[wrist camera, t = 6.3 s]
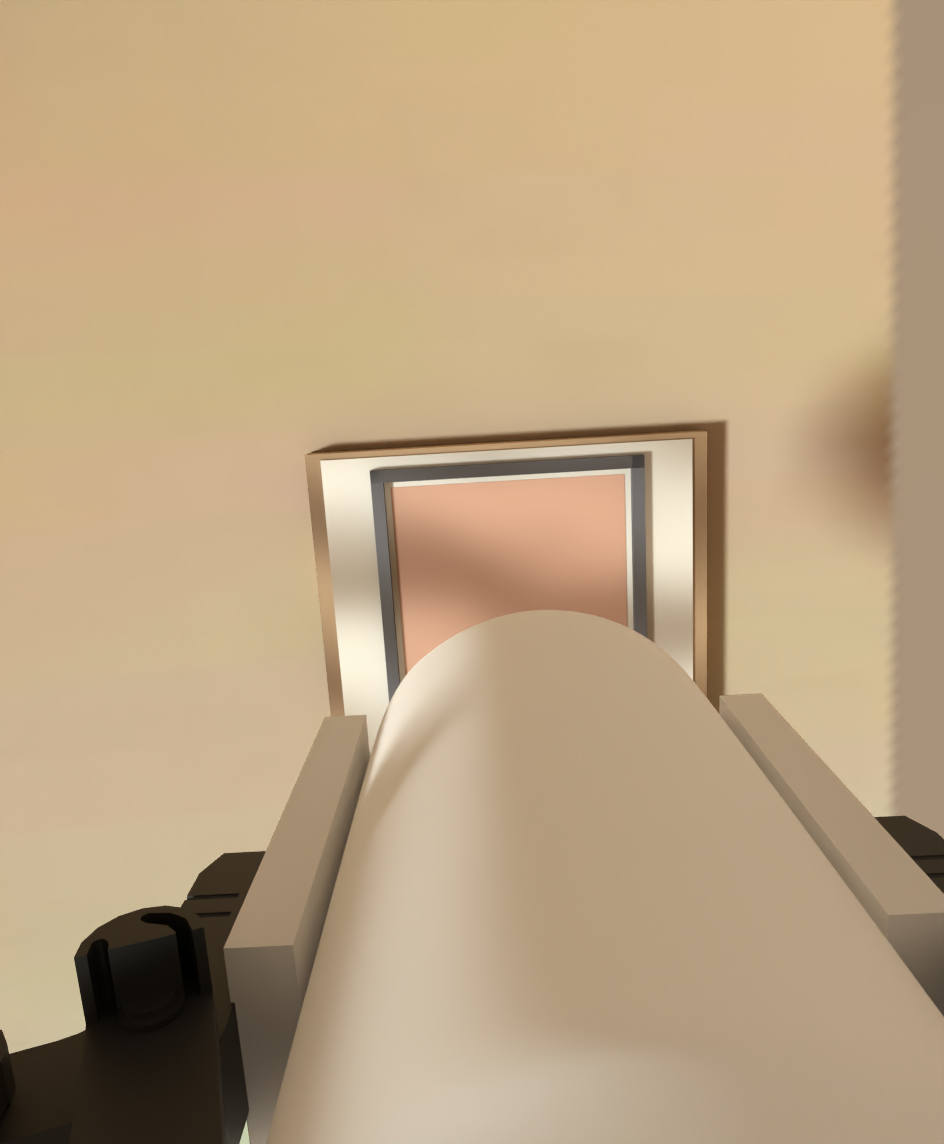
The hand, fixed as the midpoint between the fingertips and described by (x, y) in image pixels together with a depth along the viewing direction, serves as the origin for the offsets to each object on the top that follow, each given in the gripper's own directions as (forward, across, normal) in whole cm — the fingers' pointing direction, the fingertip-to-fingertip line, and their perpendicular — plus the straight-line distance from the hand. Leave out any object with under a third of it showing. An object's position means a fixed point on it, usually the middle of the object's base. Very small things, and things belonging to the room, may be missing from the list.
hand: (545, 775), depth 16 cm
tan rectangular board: (+14, 0, -4) cm, 15 cm away
